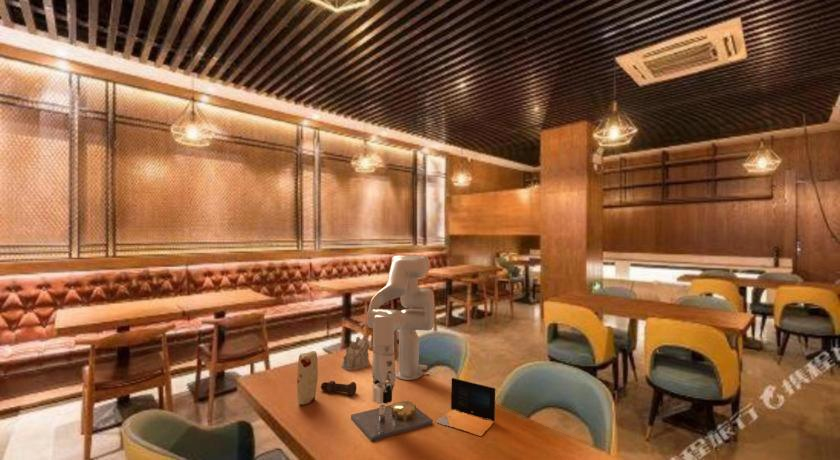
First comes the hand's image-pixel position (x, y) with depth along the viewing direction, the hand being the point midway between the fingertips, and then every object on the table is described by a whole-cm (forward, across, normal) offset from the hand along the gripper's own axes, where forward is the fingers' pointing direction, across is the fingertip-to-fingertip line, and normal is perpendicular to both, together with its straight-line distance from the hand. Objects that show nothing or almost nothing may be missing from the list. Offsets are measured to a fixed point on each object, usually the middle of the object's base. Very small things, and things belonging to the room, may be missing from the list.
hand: (382, 397), depth 141 cm
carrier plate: (+9, 0, -4) cm, 10 cm away
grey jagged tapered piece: (+9, +64, -15) cm, 66 cm away
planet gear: (+1, 0, 0) cm, 1 cm away
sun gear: (+8, 0, -9) cm, 12 cm away
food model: (+10, +31, +18) cm, 37 cm away
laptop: (+10, -14, -27) cm, 32 cm away
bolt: (+10, +34, +4) cm, 36 cm away
